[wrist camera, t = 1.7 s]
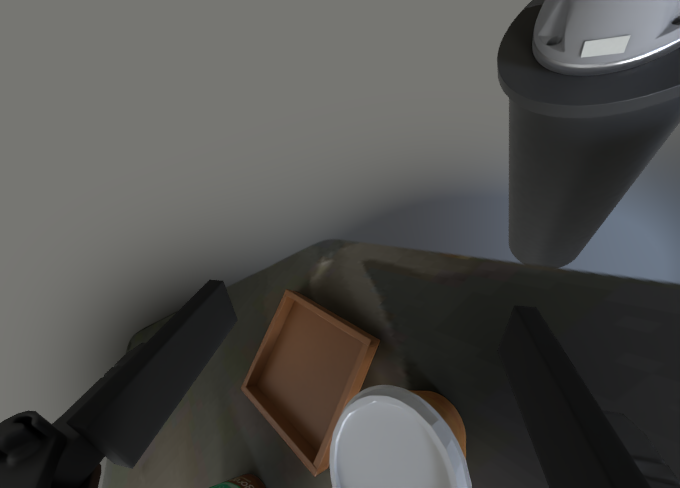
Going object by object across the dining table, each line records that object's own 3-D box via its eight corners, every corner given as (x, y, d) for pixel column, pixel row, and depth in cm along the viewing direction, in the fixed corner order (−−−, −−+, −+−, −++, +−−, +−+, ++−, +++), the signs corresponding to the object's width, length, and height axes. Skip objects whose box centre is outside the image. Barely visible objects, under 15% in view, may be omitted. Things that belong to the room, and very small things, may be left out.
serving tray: (297, 291, 40) (286, 288, 38) (380, 340, 31) (371, 340, 29) (254, 386, 39) (240, 388, 37) (328, 468, 29) (314, 477, 27)
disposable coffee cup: (479, 380, 25) (460, 401, 15) (492, 506, 21) (479, 633, 12) (386, 367, 30) (329, 377, 20) (386, 469, 26) (317, 537, 17)
